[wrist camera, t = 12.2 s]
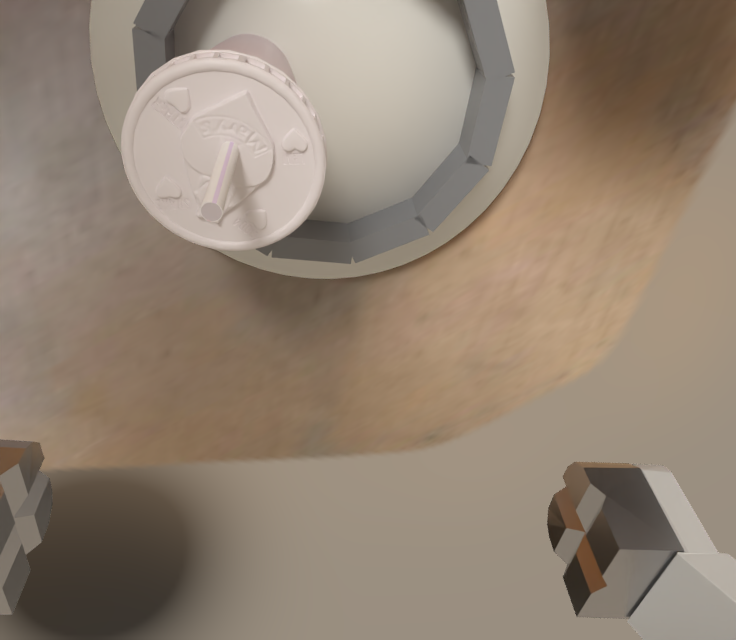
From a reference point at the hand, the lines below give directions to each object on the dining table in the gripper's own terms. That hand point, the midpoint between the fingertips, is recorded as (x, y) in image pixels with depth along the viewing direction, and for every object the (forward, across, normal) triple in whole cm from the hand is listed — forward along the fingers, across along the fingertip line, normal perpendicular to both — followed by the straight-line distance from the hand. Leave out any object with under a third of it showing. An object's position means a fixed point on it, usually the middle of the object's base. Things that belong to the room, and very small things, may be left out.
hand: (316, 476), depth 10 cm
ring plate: (+23, 0, 0) cm, 23 cm away
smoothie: (+22, +3, 0) cm, 22 cm away
